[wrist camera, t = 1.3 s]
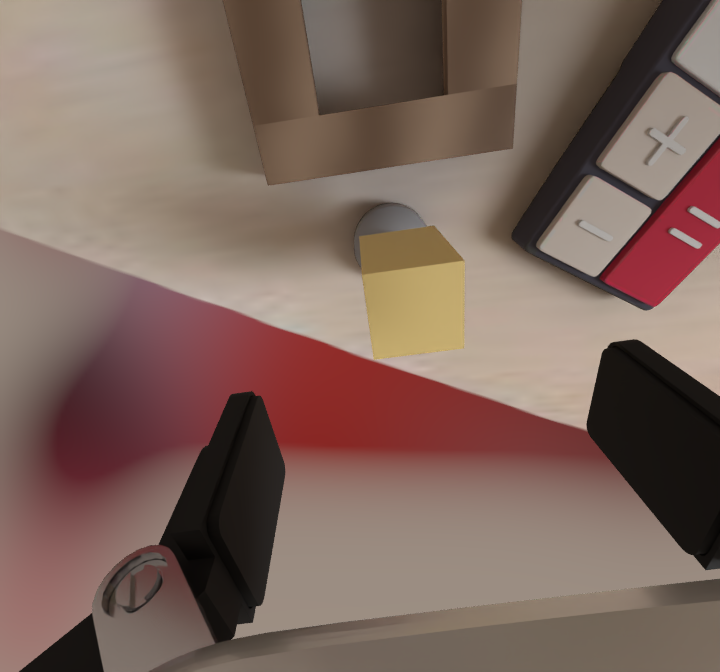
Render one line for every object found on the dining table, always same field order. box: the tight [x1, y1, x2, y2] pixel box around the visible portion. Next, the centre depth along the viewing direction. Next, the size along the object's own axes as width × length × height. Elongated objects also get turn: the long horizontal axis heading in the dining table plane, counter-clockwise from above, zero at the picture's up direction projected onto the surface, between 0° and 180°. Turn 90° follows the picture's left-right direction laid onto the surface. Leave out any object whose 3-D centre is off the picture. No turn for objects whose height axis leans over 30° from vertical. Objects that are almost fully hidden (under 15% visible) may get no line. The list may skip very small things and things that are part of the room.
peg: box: [354, 203, 464, 360], centre depth 20 cm, size 5×5×12 cm
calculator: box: [512, 0, 720, 310], centre depth 22 cm, size 11×4×15 cm
